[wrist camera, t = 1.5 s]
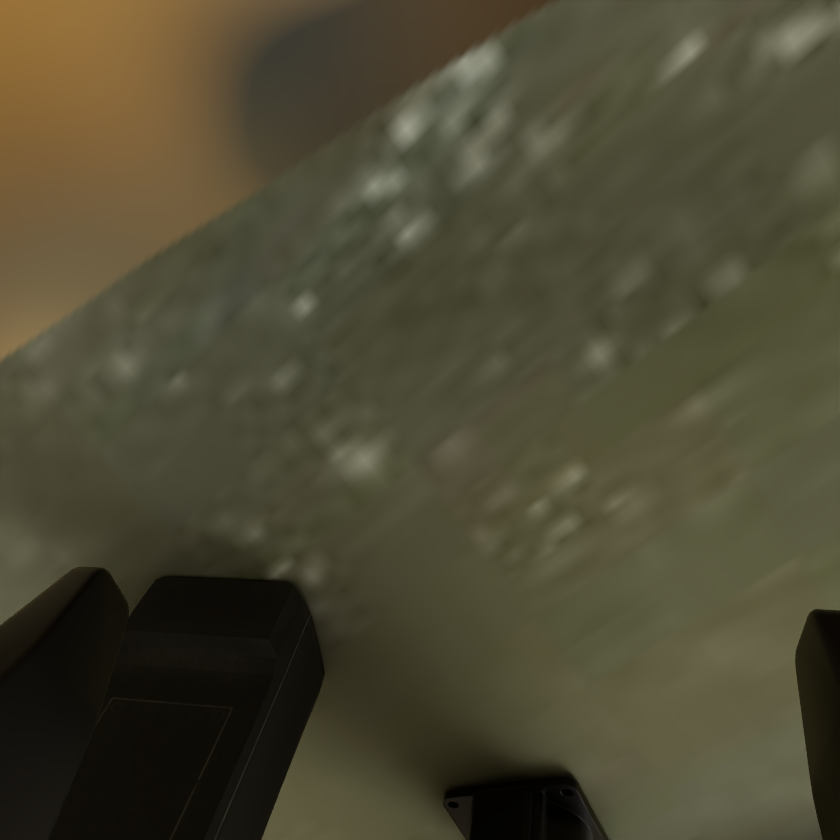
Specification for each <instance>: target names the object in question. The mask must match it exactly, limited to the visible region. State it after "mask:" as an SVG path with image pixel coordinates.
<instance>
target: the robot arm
mask: <svg viewBox="0 0 840 840" xmlns="http://www.w3.org/2000/svg"><path fill="white" fill-rule="evenodd" d="M128 616H129V607H128V603H127V601H126V599H125V597H124V596H123V594H122V593H121V591H120V589H119V588H118V586H117V584H116V583H115V581H114V579H113V578H112V576H111V574H110V573H109V572H108V571H107V570H105V569H104V568H96V567H78V568H75V569H73V570H71V571H70V572H68V573H67V574H65V575H64V576H63V577H62V578H60V579H59V580H58V581H57V582H55V583H54V584H53V585H51V586H50V587H49V588H48V589H46V590H45V591H44V592H42V593H41V594H40V595H39V596H37V597H36V598H35V599H33V600H32V601H31V602H30V603H28V604H27V605H26V606H24V607H23V608H22V609H21V610H19V611H18V612H17V613H15V614H14V615H13V616H12V617H10V618H9V619H8V620H7V621H5V622H4V623H3V624H1V625H0V840H49V838H50V835H51V833H52V830H53V828H54V826H55V823H56V821H57V818H58V816H59V813H60V811H61V809H62V806H63V804H64V801H65V799H66V796H67V794H68V792H69V789H70V787H71V784H72V782H73V780H74V777H75V775H76V772H77V770H78V767H79V765H80V763H81V760H82V758H83V755H84V753H85V750H86V748H87V746H88V743H89V741H90V738H91V736H92V733H93V730H94V728H95V725H96V723H97V720H98V717H99V714H100V711H101V708H102V705H103V701H104V698H105V695H106V691H107V688H108V685H109V681H110V678H111V675H112V671H113V668H114V665H115V661H116V658H117V655H118V651H119V648H120V645H121V641H122V638H123V635H124V631H125V628H126V625H127V621H128ZM795 664H796V674H797V682H798V690H799V697H800V705H801V712H802V720H803V728H804V735H805V743H806V751H807V758H808V766H809V773H810V780H811V787H812V794H813V800H814V804H815V809H816V813H817V818H818V822H819V826H820V830H821V834H822V838H823V840H840V611H839V610H822V609H815V610H813V611H811V612H810V613H809V615H808V617H807V620H806V623H805V626H804V629H803V631H802V634H801V637H800V640H799V643H798V646H797V649H796V657H795ZM443 805H444V807H445V808H446V810H447V811H448V813H449V814H450V816H451V817H452V819H453V820H454V822H455V823H456V825H457V826H458V828H459V830H460V831H461V833H462V834H463V836H464V837H465V839H466V840H608V838H607V836H606V835H605V833H604V831H603V829H602V827H601V825H600V823H599V821H598V820H597V818H596V816H595V814H594V812H593V810H592V808H591V806H590V805H589V803H588V801H587V799H586V797H585V795H584V793H583V791H582V790H581V788H580V786H579V784H578V782H577V781H576V780H574V779H572V778H569V777H560V778H551V779H542V780H534V781H525V782H516V783H508V784H499V785H490V786H482V787H473V788H464V789H456V790H449V791H446V792H445V794H444V799H443Z"/></svg>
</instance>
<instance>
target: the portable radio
mask: <svg viewBox="0 0 840 840" xmlns="http://www.w3.org/2000/svg"><path fill="white" fill-rule="evenodd" d="M323 678H324V669H323V665H322V660H321V656H320V652H319V647H318V643H317V639H316V634H315V630H314V626H313V622H312V617H311V615H310V613H309V611H308V609H307V607H306V605H305V602H304V601H303V600H302V598H301V597H300V596H299V594H298V593H297V592H296V590H295V589H294V588H293V586H291V585H290V584H288V583H286V582H266V581H243V580H220V579H198V578H177V577H164V578H161V579H157V580H156V581H155V582H154V583H153V584H152V586H151V587H150V588H149V589H148V591H147V592H146V593H145V595H144V596H143V598H142V599H141V600H140V602H139V603H138V605H137V606H136V608H135V609H134V610H133V612H132V613H131V615H130V616H129V618H128V621H127V625H126V628H125V631H124V635H123V638H122V641H121V645H120V648H119V651H118V655H117V658H116V661H115V665H114V668H113V671H112V675H111V678H110V681H109V685H108V688H107V691H106V695H105V698H104V701H103V705H102V708H101V711H100V714H99V717H98V720H97V723H96V725H95V728H94V730H93V733H92V736H91V738H90V741H89V743H88V746H87V748H86V750H85V753H84V755H83V758H82V760H81V763H80V765H79V767H78V770H77V772H76V775H75V777H74V780H73V782H72V784H71V787H70V789H69V792H68V794H67V796H66V799H65V801H64V804H63V806H62V809H61V811H60V813H59V816H58V818H57V821H56V823H55V826H54V828H53V830H52V833H51V835H50V838H49V840H261V839H262V836H263V834H264V831H265V829H266V826H267V823H268V821H269V818H270V815H271V813H272V810H273V808H274V805H275V802H276V800H277V797H278V795H279V792H280V790H281V787H282V784H283V782H284V779H285V777H286V774H287V772H288V769H289V767H290V764H291V761H292V759H293V756H294V754H295V751H296V749H297V746H298V744H299V741H300V738H301V736H302V734H303V731H304V729H305V726H306V724H307V721H308V719H309V717H310V714H311V712H312V709H313V707H314V704H315V702H316V699H317V697H318V695H319V692H320V688H321V685H322V682H323Z"/></svg>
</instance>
